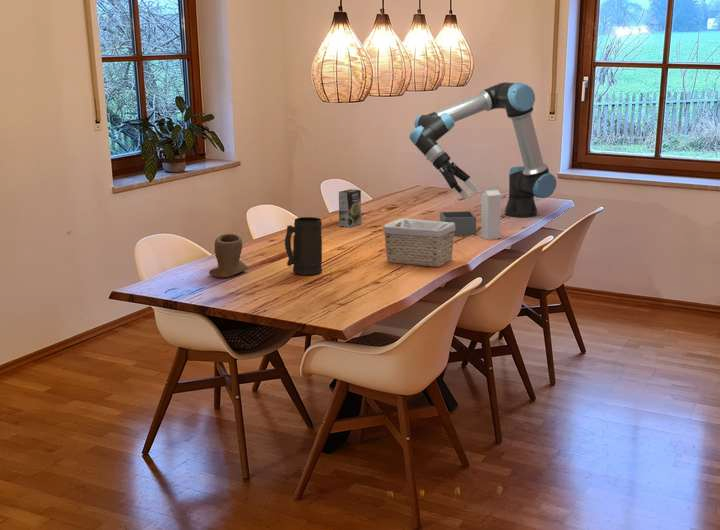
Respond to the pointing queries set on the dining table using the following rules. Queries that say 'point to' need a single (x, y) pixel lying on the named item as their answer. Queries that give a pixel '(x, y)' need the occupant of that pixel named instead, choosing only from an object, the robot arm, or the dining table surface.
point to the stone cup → (228, 256)
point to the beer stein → (305, 245)
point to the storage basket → (419, 242)
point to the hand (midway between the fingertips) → (471, 194)
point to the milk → (490, 213)
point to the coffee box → (349, 208)
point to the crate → (460, 222)
